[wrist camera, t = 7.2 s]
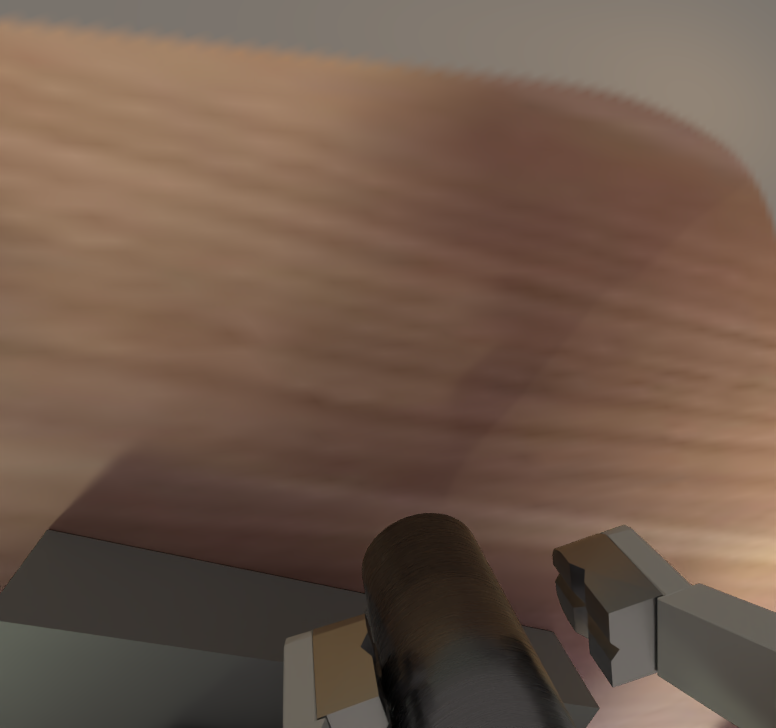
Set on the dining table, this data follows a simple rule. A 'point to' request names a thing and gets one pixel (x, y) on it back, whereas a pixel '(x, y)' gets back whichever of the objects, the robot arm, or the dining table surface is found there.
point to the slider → (451, 633)
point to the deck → (171, 640)
